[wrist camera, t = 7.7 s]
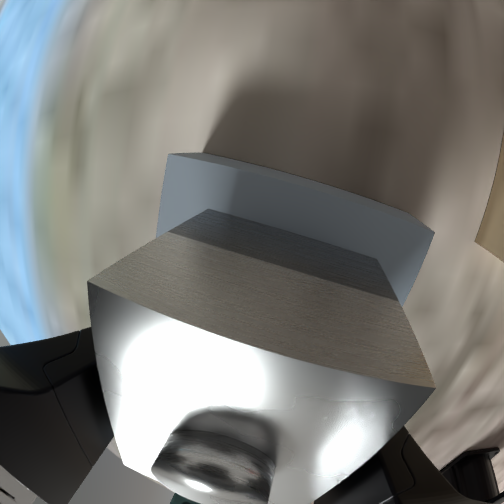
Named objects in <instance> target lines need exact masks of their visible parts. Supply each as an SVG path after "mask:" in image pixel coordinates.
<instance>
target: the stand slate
mask: <svg viewBox="0 0 504 504" xmlns="http://www.w3.org/2000/svg"><path fill="white" fill-rule="evenodd" d="M208 208H209V209H213V210H216V211H220V212H223V213H227V214H231V215H234V216H238V217H241V218H245V219H248V220H252V221H255V222H259V223H262V224H266V225H269V226H272V227H276V228H279V229H283V230H286V231H289V232H293V233H296V234H299V235H303V236H306V237H309V238H313V239H316V240H319V241H322V242H326V243H329V244H332V245H335V246H338V247H342V248H345V249H348V250H351V251H354V252H357V253H360V254H363V255H367V256H370V257H373V258H376V259H377V260H378V262H379V263H380V265H381V267H382V269H383V271H384V273H385V275H386V277H387V278H388V280H389V282H390V284H391V286H392V288H393V290H394V292H395V294H396V296H397V298H398V300H399V302H400V304H401V306H403V304H404V302H405V300H406V298H407V296H408V294H409V292H410V290H411V288H412V286H413V284H414V282H415V279H416V277H417V275H418V273H419V270H420V268H421V266H422V263H423V261H424V259H425V256H426V254H427V251H428V249H429V246H430V244H431V241H432V239H433V236H434V233H435V232H434V231H433V230H431V229H430V228H428V227H427V226H426V225H424V224H423V223H422V222H420V221H419V220H417V219H416V218H414V217H413V216H412V215H410V214H409V213H407V212H404V211H402V210H399V209H396V208H394V207H391V206H388V205H386V204H383V203H380V202H377V201H375V200H372V199H369V198H366V197H363V196H360V195H357V194H354V193H351V192H348V191H345V190H342V189H339V188H336V187H333V186H330V185H326V184H323V183H320V182H317V181H313V180H310V179H307V178H303V177H300V176H296V175H293V174H289V173H285V172H282V171H278V170H274V169H270V168H267V167H263V166H259V165H255V164H251V163H247V162H242V161H238V160H234V159H230V158H225V157H221V156H216V155H211V154H207V153H175V154H168V158H167V164H166V170H165V176H164V182H163V188H162V195H161V202H160V209H159V217H158V225H157V233H156V238H157V237H159V236H161V235H162V234H164V233H166V232H168V231H169V230H171V229H173V228H174V227H176V226H178V225H180V224H181V223H183V222H185V221H187V220H189V219H190V218H192V217H194V216H196V215H198V214H199V213H201V212H203V211H205V210H207V209H208Z"/></svg>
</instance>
